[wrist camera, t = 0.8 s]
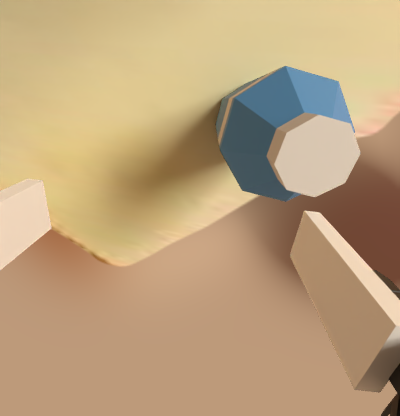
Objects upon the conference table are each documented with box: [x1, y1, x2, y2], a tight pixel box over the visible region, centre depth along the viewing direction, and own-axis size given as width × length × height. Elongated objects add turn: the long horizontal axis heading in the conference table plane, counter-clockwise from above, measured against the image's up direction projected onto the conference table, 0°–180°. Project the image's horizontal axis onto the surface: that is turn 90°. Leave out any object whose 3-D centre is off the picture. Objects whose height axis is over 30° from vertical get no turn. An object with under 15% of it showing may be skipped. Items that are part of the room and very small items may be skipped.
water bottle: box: [216, 66, 360, 202], centre depth 23 cm, size 9×9×25 cm
